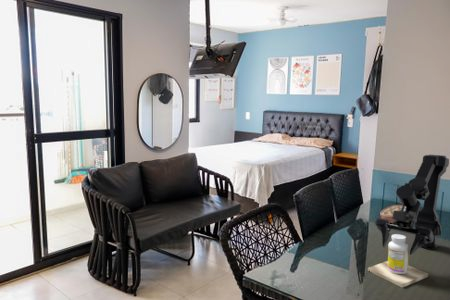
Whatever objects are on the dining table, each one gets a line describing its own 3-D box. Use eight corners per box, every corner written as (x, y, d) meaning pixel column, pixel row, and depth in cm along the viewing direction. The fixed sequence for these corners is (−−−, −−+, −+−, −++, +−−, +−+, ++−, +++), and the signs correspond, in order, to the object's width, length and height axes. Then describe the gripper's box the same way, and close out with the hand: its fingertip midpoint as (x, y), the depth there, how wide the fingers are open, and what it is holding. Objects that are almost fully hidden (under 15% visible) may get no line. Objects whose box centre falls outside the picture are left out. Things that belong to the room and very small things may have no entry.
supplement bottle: (397, 264, 133) (398, 231, 131) (412, 272, 127) (413, 238, 125) (383, 268, 130) (384, 234, 129) (398, 276, 124) (399, 241, 123)
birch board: (392, 261, 138) (392, 258, 138) (427, 276, 126) (428, 273, 126) (367, 270, 132) (367, 267, 131) (402, 287, 119) (402, 284, 119)
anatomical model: (395, 227, 175) (396, 217, 174) (375, 223, 182) (375, 213, 181) (411, 216, 191) (412, 206, 190) (392, 212, 198) (392, 203, 197)
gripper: (377, 197, 135) (364, 233, 128) (432, 206, 121) (420, 247, 115) (385, 212, 141) (373, 247, 135) (438, 222, 128) (427, 262, 122)
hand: (396, 250), depth 127 cm, fingers open, 9 cm apart
